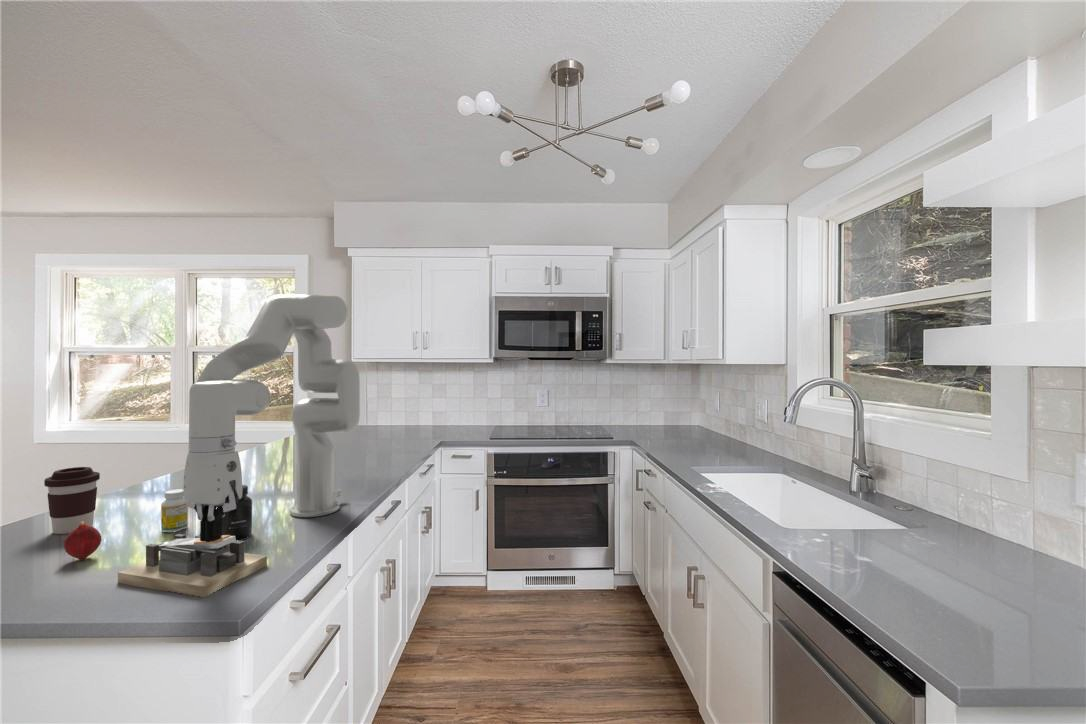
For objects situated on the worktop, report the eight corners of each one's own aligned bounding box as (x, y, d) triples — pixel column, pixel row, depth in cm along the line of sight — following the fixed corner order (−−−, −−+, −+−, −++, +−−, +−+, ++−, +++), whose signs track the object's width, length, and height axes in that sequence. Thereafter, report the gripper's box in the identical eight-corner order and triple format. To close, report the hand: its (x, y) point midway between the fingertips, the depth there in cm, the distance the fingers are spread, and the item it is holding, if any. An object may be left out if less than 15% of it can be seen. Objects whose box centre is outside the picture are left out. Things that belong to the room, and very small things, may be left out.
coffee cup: (42, 540, 115) (42, 476, 115) (46, 529, 123) (46, 469, 122) (99, 530, 122) (99, 470, 121) (100, 520, 129) (100, 463, 129)
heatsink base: (188, 554, 107) (188, 526, 107) (266, 565, 102) (266, 535, 102) (117, 582, 94) (117, 550, 94) (203, 597, 88) (203, 563, 88)
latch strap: (174, 544, 102) (173, 537, 102) (235, 541, 97) (235, 534, 97) (154, 551, 98) (153, 544, 98) (217, 548, 94) (216, 541, 94)
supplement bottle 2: (236, 543, 113) (236, 491, 113) (211, 541, 115) (211, 490, 115) (259, 533, 120) (258, 484, 120) (235, 531, 122) (235, 482, 121)
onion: (107, 556, 106) (107, 519, 106) (75, 566, 101) (74, 527, 101) (90, 552, 108) (90, 516, 108) (57, 562, 103) (57, 524, 103)
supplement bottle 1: (184, 531, 121) (184, 492, 121) (158, 534, 119) (157, 495, 119) (190, 524, 126) (190, 487, 126) (165, 527, 124) (165, 489, 124)
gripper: (259, 443, 97) (258, 536, 97) (200, 440, 101) (199, 529, 101) (225, 449, 90) (224, 550, 90) (163, 446, 94) (162, 542, 94)
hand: (211, 539), depth 96 cm, fingers closed
